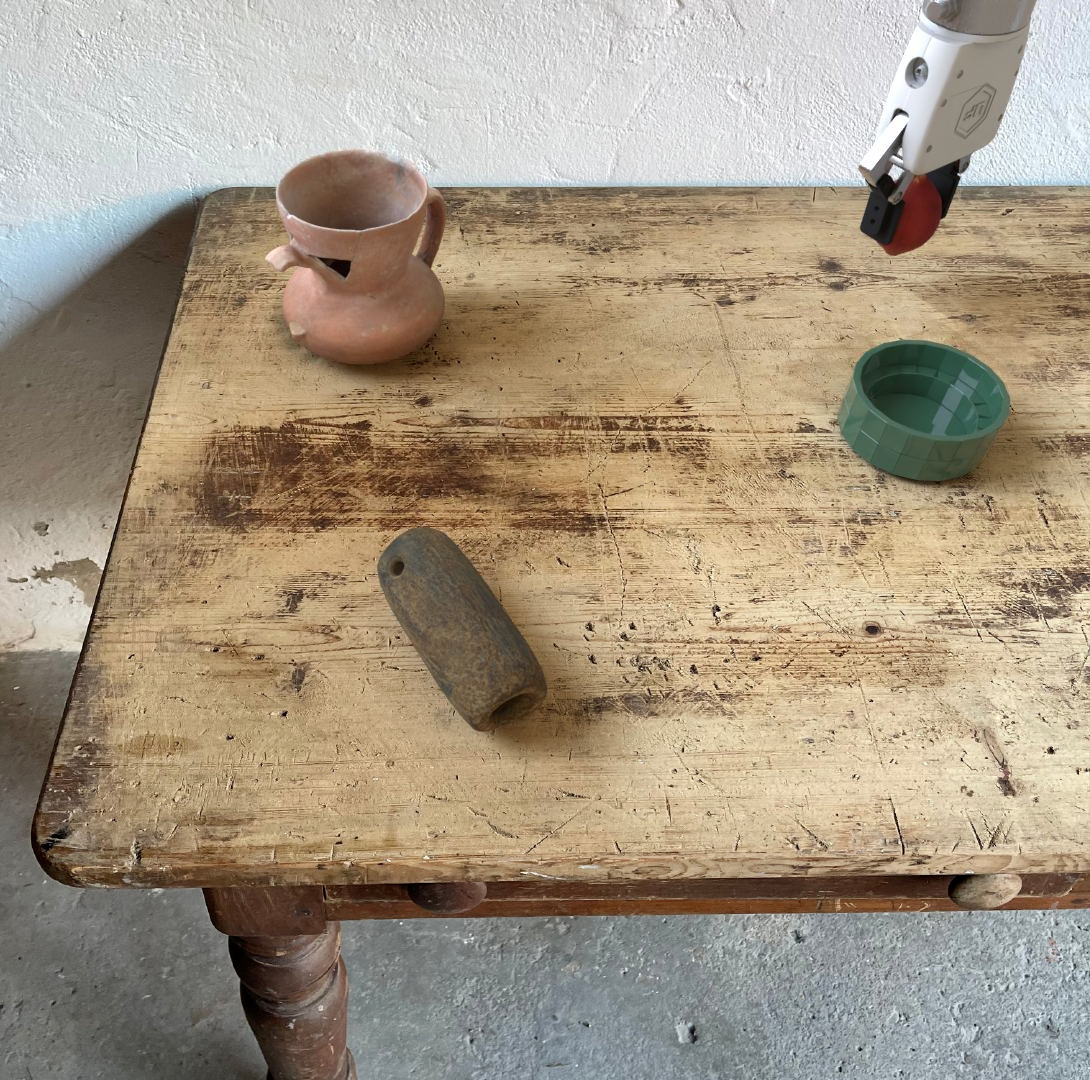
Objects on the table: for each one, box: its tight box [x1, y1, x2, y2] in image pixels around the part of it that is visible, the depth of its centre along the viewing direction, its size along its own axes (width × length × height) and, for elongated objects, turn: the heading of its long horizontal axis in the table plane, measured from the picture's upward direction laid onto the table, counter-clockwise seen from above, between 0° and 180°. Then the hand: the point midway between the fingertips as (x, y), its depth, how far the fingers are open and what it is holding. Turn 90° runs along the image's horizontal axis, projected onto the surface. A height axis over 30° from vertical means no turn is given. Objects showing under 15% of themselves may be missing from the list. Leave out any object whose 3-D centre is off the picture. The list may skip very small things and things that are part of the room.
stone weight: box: [376, 526, 548, 733], centre depth 68 cm, size 15×7×7 cm, turn 34°
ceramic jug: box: [264, 148, 447, 365], centre depth 86 cm, size 18×14×14 cm
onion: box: [875, 174, 942, 257], centre depth 86 cm, size 6×6×8 cm
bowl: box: [836, 339, 1011, 482], centre depth 82 cm, size 12×12×5 cm
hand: (902, 223), depth 87 cm, fingers closed on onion, 5 cm apart
